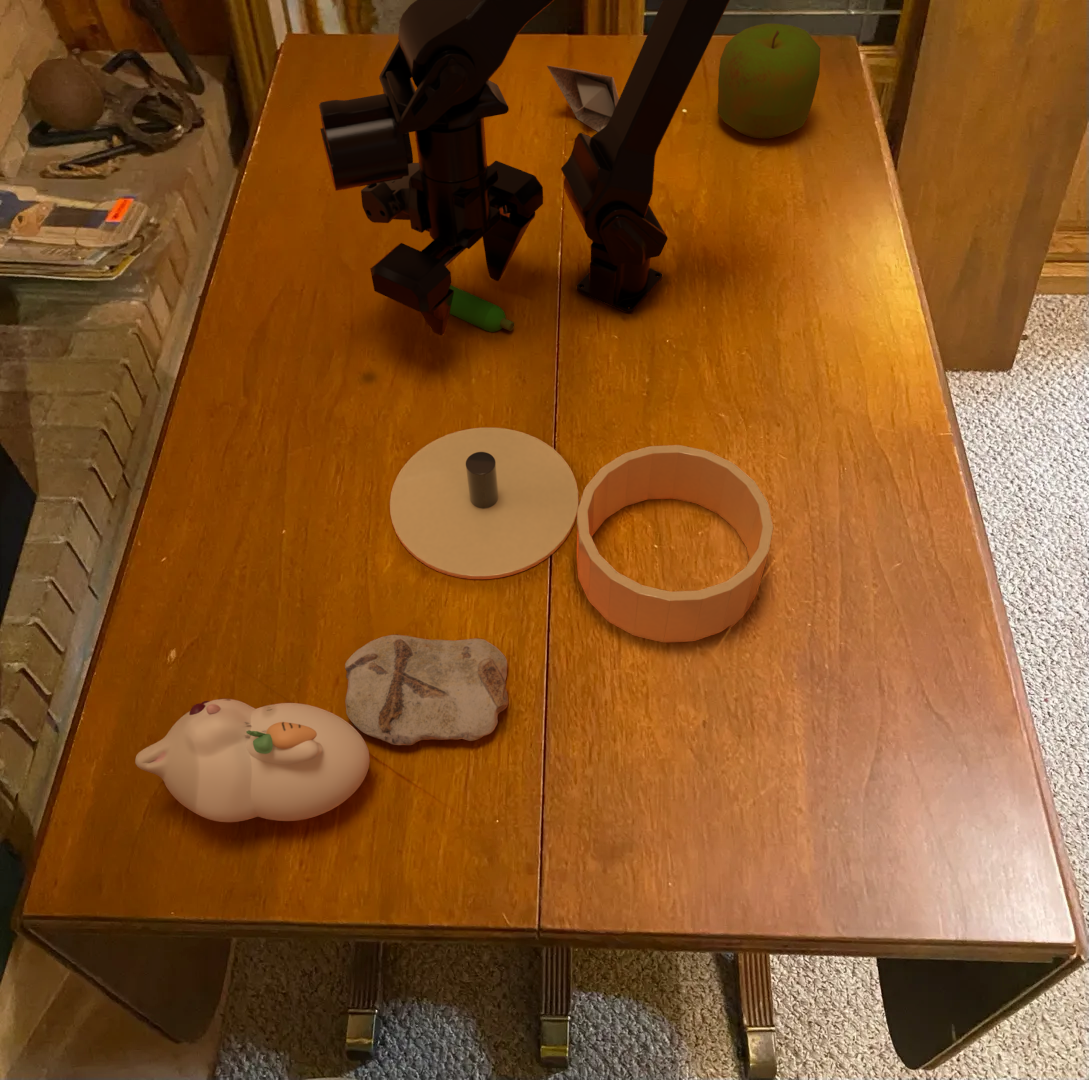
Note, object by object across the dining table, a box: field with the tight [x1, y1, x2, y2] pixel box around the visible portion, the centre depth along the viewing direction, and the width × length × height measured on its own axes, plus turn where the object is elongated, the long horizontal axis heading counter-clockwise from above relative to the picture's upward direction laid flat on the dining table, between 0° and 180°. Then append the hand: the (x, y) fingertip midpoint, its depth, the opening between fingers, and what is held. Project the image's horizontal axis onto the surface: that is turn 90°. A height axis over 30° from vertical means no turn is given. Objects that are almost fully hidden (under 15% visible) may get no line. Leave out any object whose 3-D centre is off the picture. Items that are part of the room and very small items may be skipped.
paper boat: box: [546, 65, 620, 133], centre depth 116 cm, size 12×6×9 cm
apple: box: [717, 23, 821, 140], centre depth 114 cm, size 11×11×11 cm
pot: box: [576, 444, 774, 643], centre depth 80 cm, size 15×15×6 cm
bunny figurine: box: [134, 698, 371, 823], centre depth 69 cm, size 10×8×15 cm
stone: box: [344, 634, 510, 746], centre depth 74 cm, size 12×9×3 cm
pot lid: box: [389, 426, 580, 580], centre depth 84 cm, size 16×16×6 cm
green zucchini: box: [449, 284, 515, 333], centre depth 99 cm, size 10×3×3 cm, turn 56°
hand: (467, 305), depth 99 cm, fingers open, 9 cm apart
